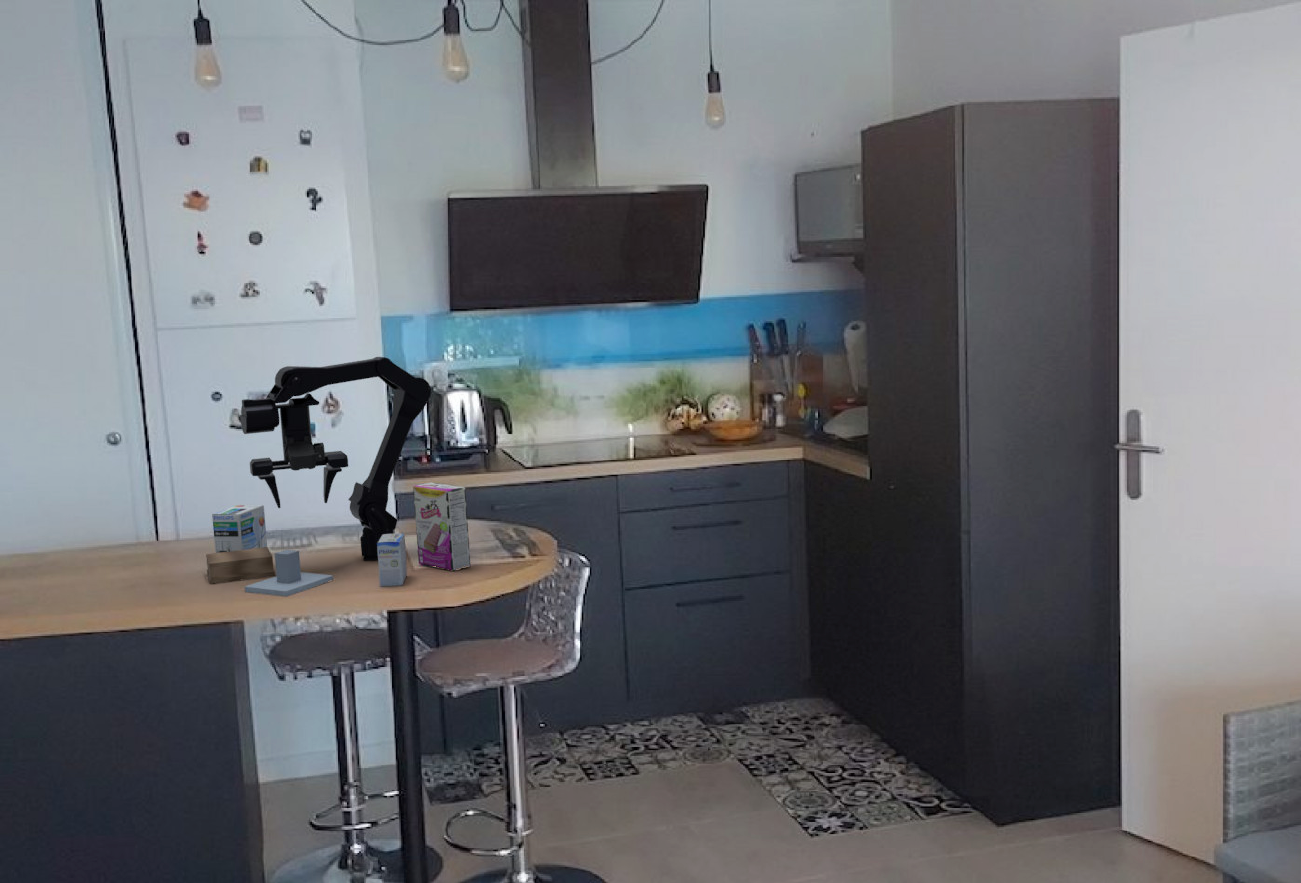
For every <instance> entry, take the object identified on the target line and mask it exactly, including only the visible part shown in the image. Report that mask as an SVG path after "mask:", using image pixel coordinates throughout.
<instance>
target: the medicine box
mask: <svg viewBox="0 0 1301 883" xmlns="http://www.w3.org/2000/svg"><path fill="white" fill-rule="evenodd" d="M405 538H406V537H405V533H395V534H383V535H382V536H381V538H380V540H379V541H378V543H377V551H378V559H377V562H378V564H377V565H378V573H379V574H378V575H379V576H378V577H379V586H380V587H382V588H383V587H399V586H403V585H404V583H405V580H406V577H407V575H408V571H407V570H408V569H407V553H406V552H407V551H406V550H407V549H406V539H405Z"/></svg>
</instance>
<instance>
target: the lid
mask: <svg viewBox="0 0 1301 883" xmlns="http://www.w3.org/2000/svg"><path fill="white" fill-rule="evenodd" d="M300 561H301V559H300V551H299V550H296V549H295V550H294V549H283V550H281V551H277V552H274V562H275V575H276V576H272V577H270V578H267V579H265V580H264V579H263V580H261V581H258V582H254V583H251V584H248V585H245V586H244V592H245V593H250V592H251V594H259V593H261V594H260V595H269V596H278V597H279V596H280V597H290V596H292V595H295V594H297V593H301V592H304V591H307V590H309V589H312V587H313V588H316V587H318V586H317V585H319V586H321V585H320V584H322V585H324V584H323V583H325V584H327V583H326V582H328V581H330V580H333V581H334V576H333V575H331V574H323V573H312V572H303V571H302V570H301V562H300ZM328 583H329V582H328ZM315 586H316V587H315Z"/></svg>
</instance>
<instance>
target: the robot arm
mask: <svg viewBox="0 0 1301 883" xmlns="http://www.w3.org/2000/svg"><path fill="white" fill-rule="evenodd" d="M373 378H379V379H380V380H381V381H383V382H384V383H385V384H386V385H387V386H388V387H390V388H391V389H392V390H393V391H394V393H393V398H392V414H391V418H390V420H389V422H388V426H387V428H386V431H385V432H384V435H383V438H382V440H381V443H380V445H379V448H378V451H377V454H376V456H375V458H374V461H373V464H372V466H371V469H370V472H369V474H368V476H367V478H366V479H365V480H364V481H363V482H362V483H359V482H357V481H356V482H355V483H354V487H353V491H352V494H351V496H349V498H348V501H349V502H350V503H349V511H350V514H351V515H352V516H353V517H354V518H355V519H357V520H359V523H360V525H361V526H362V527H363V529H362V534H361V536H360V538H359V540H360V550H361V557H363V561H373V560H375V561H376V560H377V561H378V551H377V543H378V541H379V540H380V538H381V536H382V535H383V534H396V532H395V531H396V526H397V524H398V519H397V518H396V517H395V516H394V515H392V514H391V513H390V512H389V511H387V506H388V502H389V485H390V482H391V479H392V476H393V474H394V471H395V468H396V466H397V463H398V461H399V458H400V455H401V453H402V451H403V448H404V445H405V443H406V440H407V438H408V436H409V432H410V429H411V428H412V425H413V423H414V421H415V420H416V418H418V416H419V415H420V414H421V413H422V412H423V410H424V409H425V406H426V405H427V404H428V401H429V400H430V399H431V397H432V396H431V395H432V388H431V386H430V383H429V382H428V381H427V380H426V379H424V378H422V377H417V376H414V375H413V374H412V373H410V372H408V371H406V370H404V369H403V368H402V367H400V366H398V365H397V364H395V362H393V361H392V360H391V359H390V358H388V357H385V356H384V357H383V356H376V357H375V356H374V358H368V359H363V360H357V361H356V360H355V361H351V362H350V361H349V362H344V363H338V364H331V365H325V366H297V365H296V366H292V365H290V366H288V365H287V366H283V367H281V368H280V369H279V370H278V371H277V373H276V374H275V377H274V385H273V386H272V387H271V389H270V391H269V392H268V393H267V396H266V398H260V399H259V398H257V399H256V398H255V399H249V398H247V399H242V400H241V409H240V416H239V418H240V425H241V431H242V433H243V434H244V435H249V434H258V433H269V432H271V433H272V432H274V431H275V429H276V428H277V427H278V426H280V428H281V439H282V451H283V459H282V460H274V461H273V460H272V459H271V458H270V457H262V458H252V459H251V461H249V469H250V471H249V472H250V474H251V476H252V477H258V479H259V480H262V481H263V480H264V481H265V483H266V484H267V486H268V488H269V489H270V492H271V494H272V497H273V499H274V501H275V503H276V506H277V508H278V509H280V508H281V499H280V495H279V491H278V485H277V482H276V476H275V474H274V471H280V470H289V469H290V470H292V471H300V470H305V469H308V470H313V469H315V468H316V467H320V466H324V467H323V502H324V503H325V504H327V503H328V500H329V497H330V493H331V488H332V486H333V481H334V479H335V477H336V475H337V474H338V473H342V471H343V469H342V468H348V467H349V458H348V455H347V454H346V453H345V452H343V451H342V450H336V451H335V450H334V451H326V452H325V445H324V442H315V443H313V440H312V439H313V438H312V428H311V413H310V407H311V406H318V405H320V401H318V399H315V398H314V396H313V395H312V392H315V391H316V390H318V389H319V390H320V389H321V388H323V387H325V386H330V385H337V384H343V383H347V382H348V383H349V382H354V381H361V380H366V379H373ZM303 395H304V396H303ZM301 396H303V397H301ZM294 397H295V398H294ZM287 402H288V403H287Z"/></svg>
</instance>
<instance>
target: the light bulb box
mask: <svg viewBox="0 0 1301 883" xmlns="http://www.w3.org/2000/svg"><path fill="white" fill-rule="evenodd" d="M211 517H212V518H211V520H212V528H213V530H212V531H213V538H214V539H213V540H214V549H215V553H221V552H229V551H238V550H246V549H254V548H263V547H268V540H267V539H268V538H267V529H266V528H267V527H266V518H265V517H266V516H265V506H264V505H263V504H257V505H256V504H250V505H249V504H246V505H245V504H237V505H233V506H231V507H229V508H225V509H223V510H220V511H217V512H214V513H212V514H211Z"/></svg>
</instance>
